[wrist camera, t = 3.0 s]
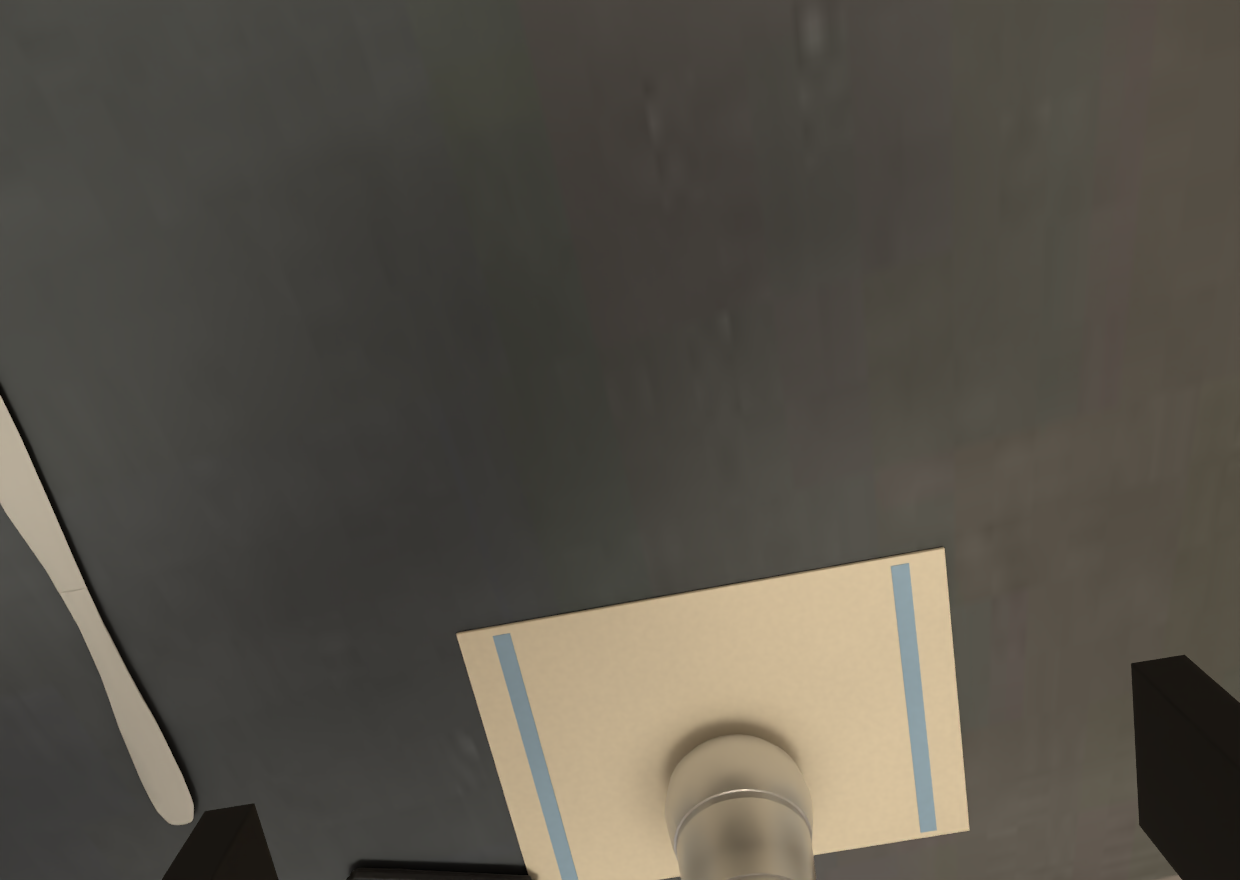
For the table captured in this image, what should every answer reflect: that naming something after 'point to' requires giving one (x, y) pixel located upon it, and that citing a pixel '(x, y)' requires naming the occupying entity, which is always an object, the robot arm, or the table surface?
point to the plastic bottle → (740, 812)
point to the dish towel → (726, 710)
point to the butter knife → (90, 626)
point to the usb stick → (426, 875)
